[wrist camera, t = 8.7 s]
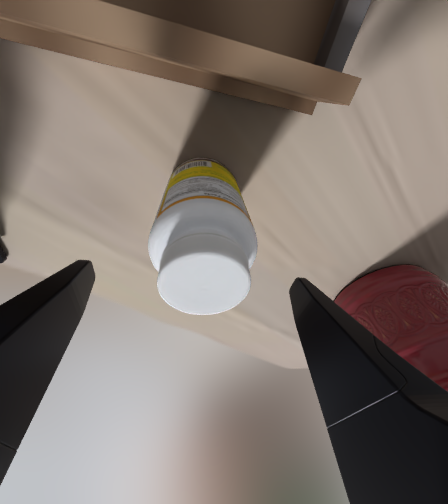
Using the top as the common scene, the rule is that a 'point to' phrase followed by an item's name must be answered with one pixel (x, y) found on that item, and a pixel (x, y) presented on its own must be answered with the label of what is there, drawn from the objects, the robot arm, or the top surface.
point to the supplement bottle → (202, 240)
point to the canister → (404, 315)
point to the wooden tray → (206, 42)
